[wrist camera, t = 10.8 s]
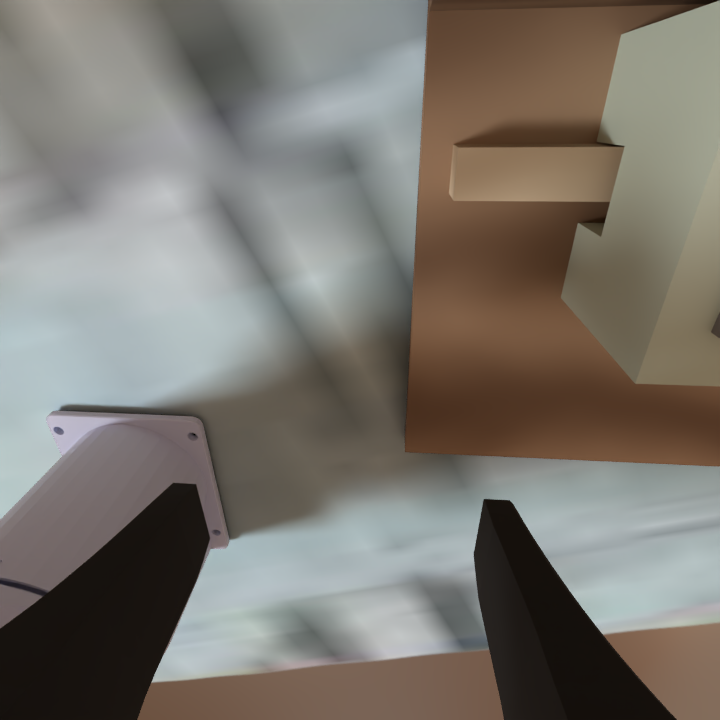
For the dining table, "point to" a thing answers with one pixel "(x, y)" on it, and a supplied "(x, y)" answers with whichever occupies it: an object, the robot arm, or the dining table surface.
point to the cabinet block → (658, 208)
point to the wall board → (527, 243)
